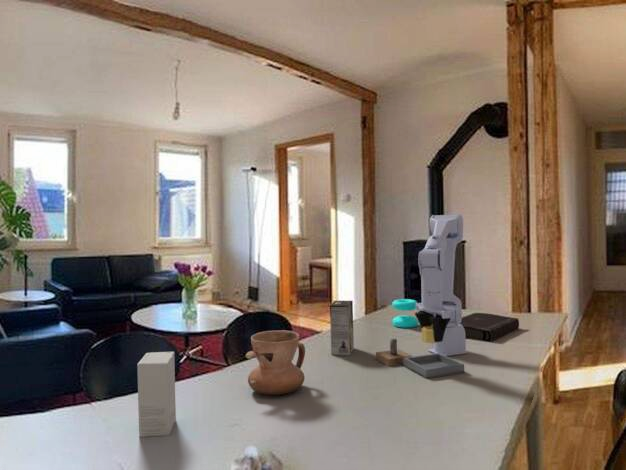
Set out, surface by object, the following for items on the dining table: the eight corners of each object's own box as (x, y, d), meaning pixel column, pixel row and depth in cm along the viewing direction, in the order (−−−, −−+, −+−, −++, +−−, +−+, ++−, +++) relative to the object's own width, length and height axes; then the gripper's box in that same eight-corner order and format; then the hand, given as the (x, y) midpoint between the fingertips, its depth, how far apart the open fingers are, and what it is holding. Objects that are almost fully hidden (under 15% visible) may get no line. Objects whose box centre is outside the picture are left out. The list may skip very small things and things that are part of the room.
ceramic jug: (263, 406, 118) (261, 346, 117) (233, 390, 129) (231, 335, 129) (323, 388, 129) (321, 334, 128) (290, 375, 140) (289, 325, 140)
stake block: (398, 355, 157) (398, 335, 156) (412, 362, 149) (411, 341, 149) (375, 358, 154) (375, 337, 154) (388, 366, 146) (387, 344, 146)
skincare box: (148, 421, 111) (145, 352, 110) (178, 419, 111) (175, 350, 111) (138, 438, 103) (135, 363, 102) (171, 436, 103) (168, 361, 102)
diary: (519, 330, 188) (519, 317, 188) (491, 344, 170) (491, 330, 170) (472, 323, 201) (472, 311, 201) (441, 335, 183) (441, 322, 182)
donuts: (390, 298, 203) (415, 298, 203) (390, 323, 203) (415, 322, 203) (394, 303, 193) (420, 302, 193) (394, 328, 193) (420, 328, 193)
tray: (439, 361, 150) (439, 353, 150) (464, 372, 139) (464, 364, 138) (403, 366, 146) (403, 357, 146) (426, 378, 135) (426, 369, 134)
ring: (435, 337, 145) (435, 325, 145) (446, 341, 140) (445, 329, 140) (418, 339, 144) (418, 327, 143) (429, 343, 138) (429, 331, 138)
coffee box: (335, 347, 168) (334, 300, 168) (354, 348, 167) (353, 300, 167) (330, 355, 160) (329, 305, 159) (350, 355, 158) (349, 305, 158)
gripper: (406, 289, 147) (407, 335, 147) (433, 296, 133) (434, 346, 134) (427, 287, 149) (427, 332, 150) (456, 294, 136) (457, 343, 136)
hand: (432, 339), depth 142 cm, fingers closed on ring, 5 cm apart
